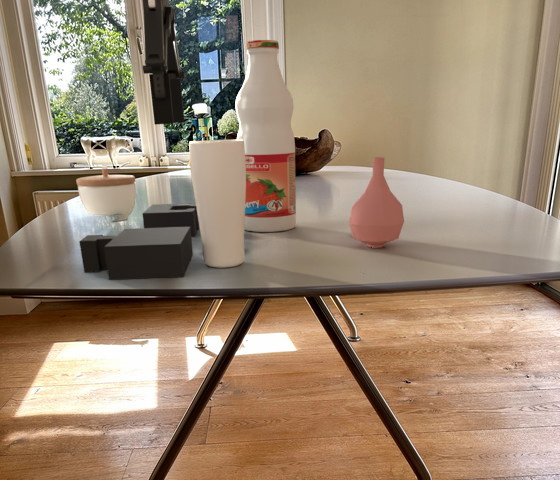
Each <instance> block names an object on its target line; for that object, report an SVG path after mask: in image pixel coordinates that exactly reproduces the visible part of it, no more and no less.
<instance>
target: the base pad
mask: <svg viewBox="0 0 560 480" xmlns="http://www.w3.org/2000/svg"><path fill="white" fill-rule="evenodd" d="M192 238H193V237H191V227H165V228H144V227H140V228H139V227H138V228H124V229H122V230H121V231H120V232H119V233H118V234H117V235H103V234H88V235H86V236H85V237H83V238H82V239H81V240H79V241H78V242H79V248H80V254H81V261H82V266H83V272H84V273H85V274H87V273H89V274H91V273H101V272H102V271H107V275H108V280H109V281H111V280H113V281H114V280H135V279H137V280H138V279H141V280H142V279H166V278H167V279H168V278H169V279H170V278H184V277H185V275H186V272H187V270H188V268H189V265H190V263H191V261H192V258H193V257H194V252H193V251H194V250H193V239H192Z"/></svg>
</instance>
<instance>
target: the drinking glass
mask: <svg viewBox="0 0 560 480" xmlns="http://www.w3.org/2000/svg"><path fill="white" fill-rule="evenodd" d="M188 146H189V166H190V167H189V168H190V177H191V184H192V192H193V196H194V203H196V209H197V215H198V221H199V233H200V239H201V246H202V258H203V259H202V260H203V263H204V264H205V265H206V266H208V267H210V268H211V267H212V268H217V269H218V268H219V269H220V268H221V269H222V268H223V269H224V268H225V269H226V268H233V267H237V266H240V265H242V264H243V263H244V262H245V230H244V228H245V198H246V159H245V148H244V141H243V140H237V139H210V140H209V139H207V140H195V141H193V140H192V141H189V143H188Z"/></svg>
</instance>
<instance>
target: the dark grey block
mask: <svg viewBox="0 0 560 480" xmlns="http://www.w3.org/2000/svg"><path fill="white" fill-rule="evenodd" d="M141 215H142V222H143V223H142V224H143V228H165V227H191V238H195V237H196V236H197V234H198V231H200V228H199V221H198V215H197V209H196V203H195V202H193V203H190V202H189V203H161V204H151V205H150V206H149V207H148V208H146V210H145V211H144V212H142V214H141Z"/></svg>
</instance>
